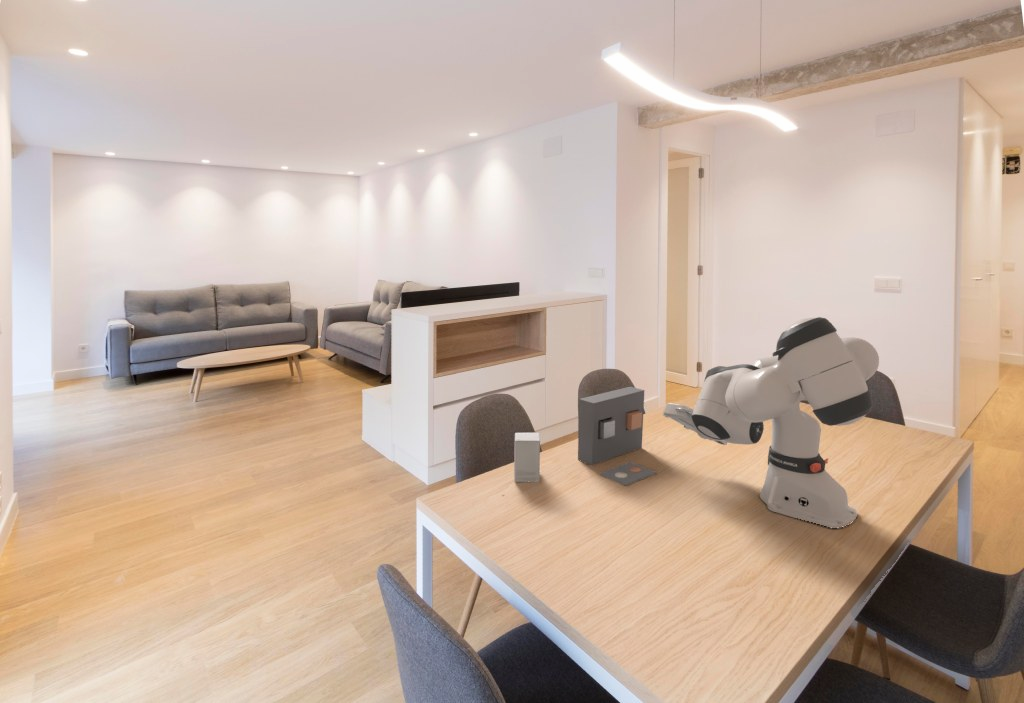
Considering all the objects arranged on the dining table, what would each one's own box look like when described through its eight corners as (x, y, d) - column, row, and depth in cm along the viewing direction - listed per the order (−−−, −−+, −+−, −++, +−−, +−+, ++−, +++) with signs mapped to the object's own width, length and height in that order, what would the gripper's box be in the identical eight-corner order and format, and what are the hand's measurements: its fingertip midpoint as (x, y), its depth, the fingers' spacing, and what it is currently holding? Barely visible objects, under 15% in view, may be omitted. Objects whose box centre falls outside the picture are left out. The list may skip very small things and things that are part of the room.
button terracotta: (641, 426, 179) (642, 412, 178) (631, 430, 176) (631, 415, 175) (634, 424, 181) (634, 410, 180) (624, 427, 178) (624, 412, 177)
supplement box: (539, 482, 158) (540, 440, 155) (514, 482, 158) (514, 440, 155) (539, 472, 165) (539, 432, 162) (514, 471, 165) (514, 431, 162)
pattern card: (656, 473, 164) (656, 471, 164) (625, 486, 155) (625, 484, 155) (630, 462, 171) (630, 461, 171) (599, 474, 163) (599, 472, 163)
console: (641, 447, 184) (644, 390, 180) (591, 465, 169) (593, 403, 165) (627, 442, 188) (630, 386, 185) (577, 459, 174) (579, 398, 170)
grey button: (614, 435, 171) (615, 420, 170) (603, 439, 168) (604, 423, 167) (607, 432, 173) (607, 417, 172) (596, 436, 170) (596, 420, 169)
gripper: (682, 420, 151) (648, 415, 163) (729, 447, 159) (693, 441, 172) (689, 399, 152) (654, 396, 165) (736, 427, 161) (700, 422, 173)
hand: (675, 419), depth 168 cm, fingers open, 8 cm apart
